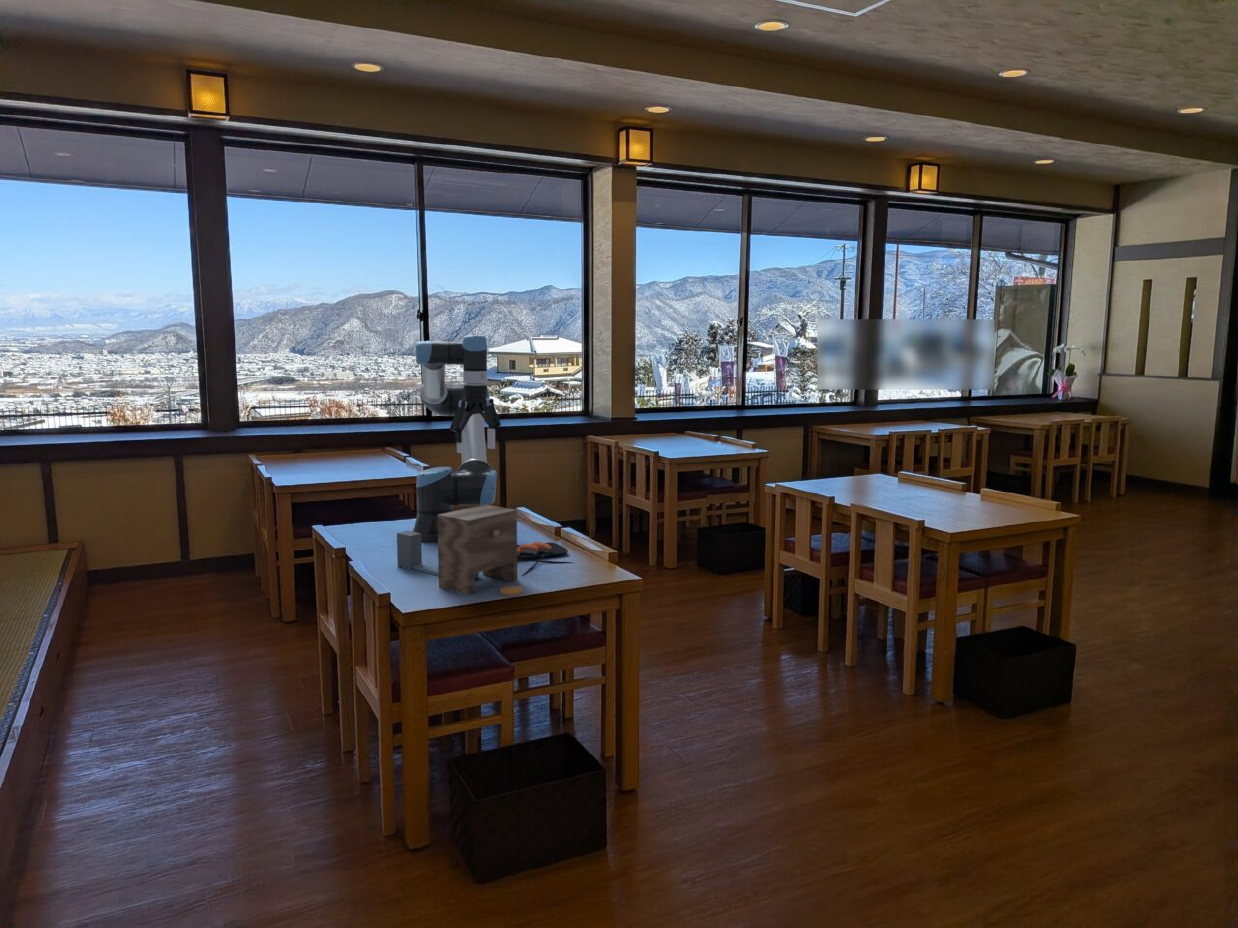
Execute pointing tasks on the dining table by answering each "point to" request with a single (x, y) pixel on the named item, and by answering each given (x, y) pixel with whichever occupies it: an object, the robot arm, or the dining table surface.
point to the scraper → (413, 553)
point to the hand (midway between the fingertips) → (476, 450)
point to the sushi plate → (539, 552)
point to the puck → (511, 590)
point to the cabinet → (476, 546)
